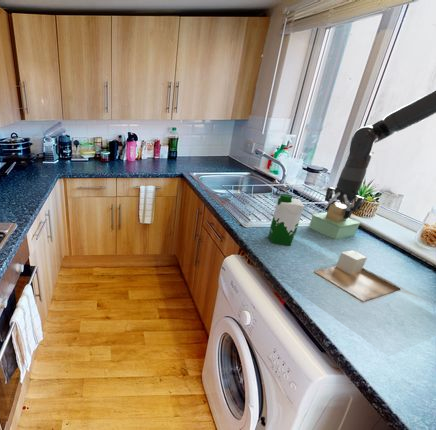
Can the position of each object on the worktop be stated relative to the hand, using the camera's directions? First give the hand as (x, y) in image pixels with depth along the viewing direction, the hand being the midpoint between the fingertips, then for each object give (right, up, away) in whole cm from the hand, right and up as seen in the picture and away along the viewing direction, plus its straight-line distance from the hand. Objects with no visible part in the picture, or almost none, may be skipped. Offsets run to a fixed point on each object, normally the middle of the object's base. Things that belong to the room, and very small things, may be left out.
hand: (337, 214), depth 122 cm
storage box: (0, -9, +4) cm, 10 cm away
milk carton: (-26, -11, -1) cm, 28 cm away
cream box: (-12, -19, -20) cm, 31 cm away
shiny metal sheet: (-14, -22, -26) cm, 37 cm away
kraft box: (0, -2, +1) cm, 2 cm away
